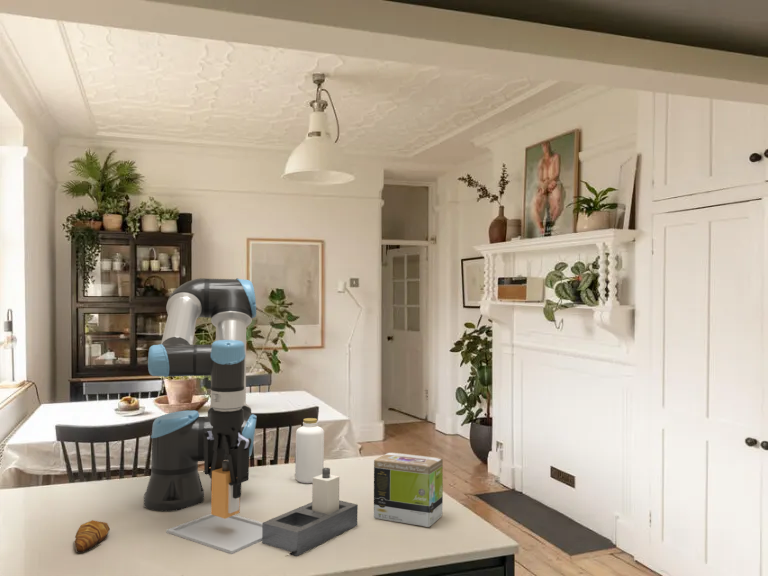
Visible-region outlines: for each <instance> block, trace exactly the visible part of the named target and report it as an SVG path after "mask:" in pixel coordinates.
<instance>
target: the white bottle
mask: <svg viewBox="0 0 768 576" xmlns="http://www.w3.org/2000/svg"><path fill="white" fill-rule="evenodd" d="M318 424H319V423H318V419H317V418H315V417H314V418H313V417H307V418H303V422H302V426H300V427H298V428H297V429H296V431H295V459H294V460H295V467H294V468H295V469H294V471H295V473H294V478H295V479H296V481H297V482H299V483H302V484H313V478H314V477H316V476H319V475H322V469H323V468H325V467H324V464H325V462H324V461H325V460H324V459H325V458H324V457H325V453H324V452H325V430H324V429H323V427H320V426H319V425H318Z"/></svg>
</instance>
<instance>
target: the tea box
mask: <svg viewBox="0 0 768 576" xmlns="http://www.w3.org/2000/svg"><path fill="white" fill-rule="evenodd" d="M443 467H444V465H443V458H442V457H437V456H428V455H427V456H426V455H420V454H419V455H417V454H410V453H403V452H402V453H400V452H392V451H391V452H387V453H385V454H384V455H382V456H380V457H378V458H376V459H374V460H373V518H374V519H379V520H384V521H391V522H396V523H402V524H409V525H413V526H415V525H416V526H421V527H426V528H430V527H431V526H432V525H434V524H435V523H436V522H437V521H438V520H439V519H440V518H441V517H442V516H443V506H444V505H443V499H444V498H443V493H444V491H443V488H444V487H443V486H444V485H443V479H444V478H443V477H444V475H443V474H444V473H443Z"/></svg>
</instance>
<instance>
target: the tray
mask: <svg viewBox="0 0 768 576" xmlns="http://www.w3.org/2000/svg"><path fill="white" fill-rule="evenodd" d="M263 522H264V521H263ZM263 522H262V521H259V520H257V519H252V518H249V517H244V516H240V515H238V514H235V515H233V516H231V517H228V518H226V519H224V518H221V517H218V516H215V515H212V514H211V513H209V514H205V515H203V516H200V517H197V518H195V519H193V520H190V521H186V522H184V523H181V524H178V525H175V526H173V527H171V528H168V529H166V530H165V531H166V534H169V535H172V536H176V537H178V538H181V539H183V540H187V541H190V542H194V543H197V544H200V545H203V546H206V547H209V548H212V549H214V550H217V551H220V552H224V553H227V554H230V555H233V554H236V553H238V552H240V551H242V550H244V549H247V548H249V547H252V546H253V545H256V544H258V543H260V542H262V523H263Z"/></svg>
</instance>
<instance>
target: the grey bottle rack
mask: <svg viewBox="0 0 768 576" xmlns="http://www.w3.org/2000/svg"><path fill="white" fill-rule="evenodd" d="M358 510H359V508H358V504H357V503H352V502H348V501H344V500H340V499H339V510H337V511H335V512H333V513H330V514H324V513H320V512H316V511H312V501H311V502H309V503H307V504H304V505H302V506H299V507H297V508H294V509H292V510H290V511H287V512H285V513H282V514H280V515H278V516H275V517H273V518H271V519H268V520H265V521H263V523H262V541H261V543H262V544H264V545H267V546H271V547H274V548H276V549H277V548H278V549H281V550H283V551H286V552H288V554H289V555H291V556H295V557H299V556H300V555H302V554H304V553H306V552H309V551H311V550H312V549H315V548H316V547H318V546H320V545H322V544H324V543H326V542H328V541H330V540H332V539H333V538H335V537H336V538H337V536H340V535H341V534H344V533H345V532H348V531H350V530H352V529H354V528H355V527H357V526H358V513H359V512H358Z"/></svg>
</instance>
